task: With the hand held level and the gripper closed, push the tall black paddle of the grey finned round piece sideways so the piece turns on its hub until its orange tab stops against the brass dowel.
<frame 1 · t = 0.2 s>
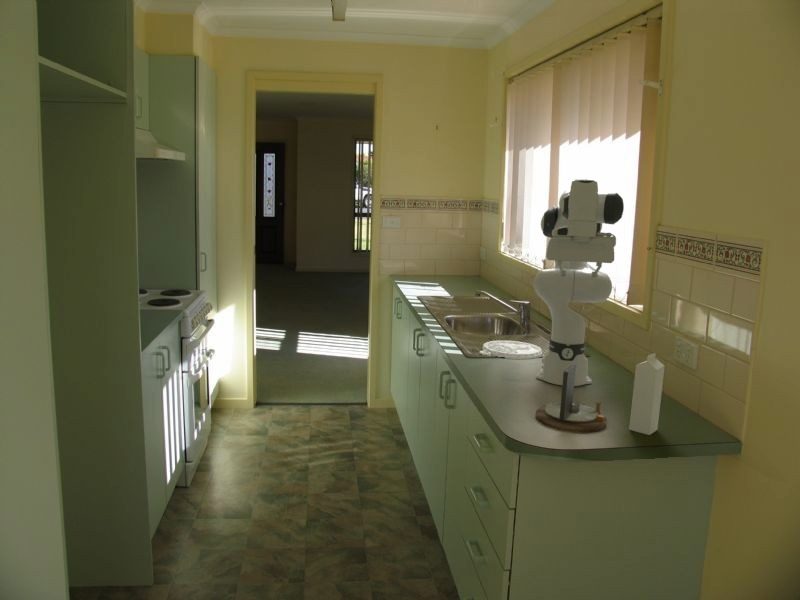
hand: (578, 276, 221), 40 cm above the countertop, tool pointing down, fingers open, 8 cm apart
grey finned round piece: (574, 391, 206), point 9 cm above the countertop, hinge at 0.0°
post base: (570, 420, 209), on the countertop
milk: (643, 430, 204), on the countertop
medallion: (508, 353, 288), on the countertop
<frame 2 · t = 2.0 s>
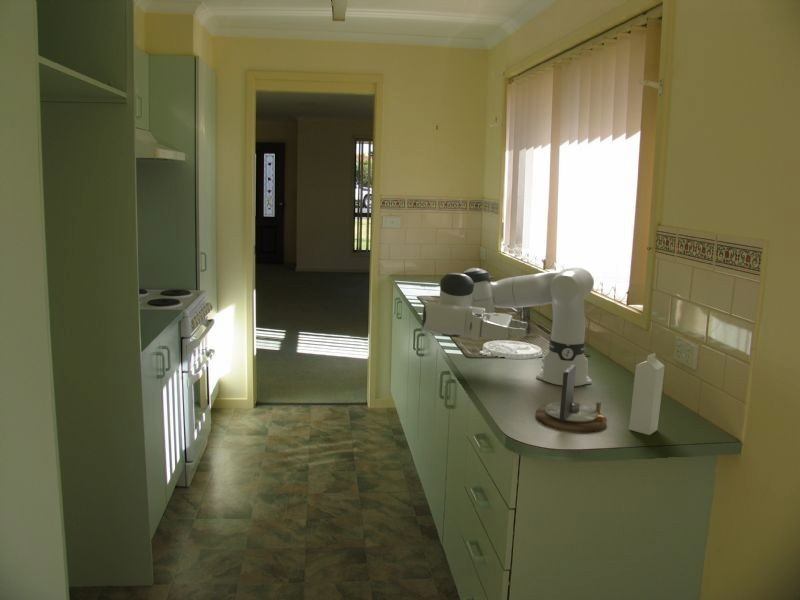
hand: (526, 329, 202), 27 cm above the countertop, tool horizontal, fingers open, 8 cm apart
nothing on the countertop moved.
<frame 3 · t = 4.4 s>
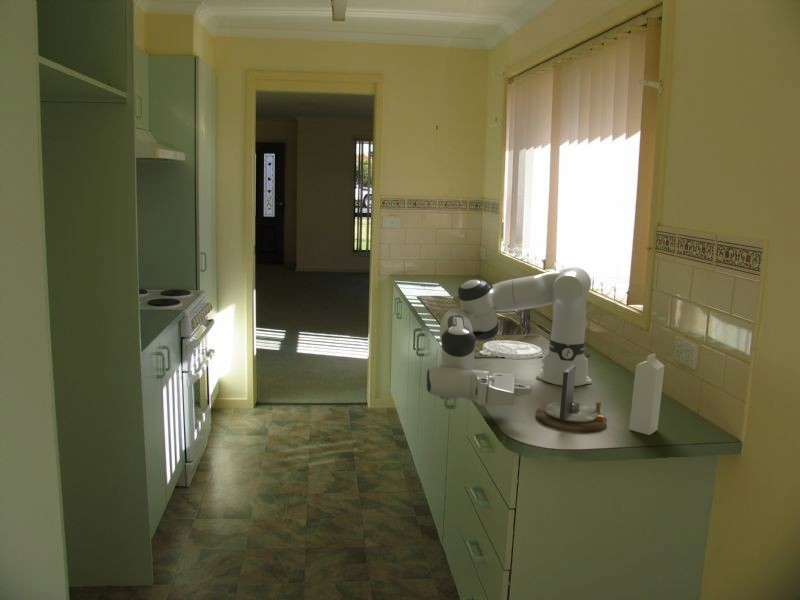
hand: (531, 390, 204), 10 cm above the countertop, tool horizontal, fingers closed
nothing on the countertop moved.
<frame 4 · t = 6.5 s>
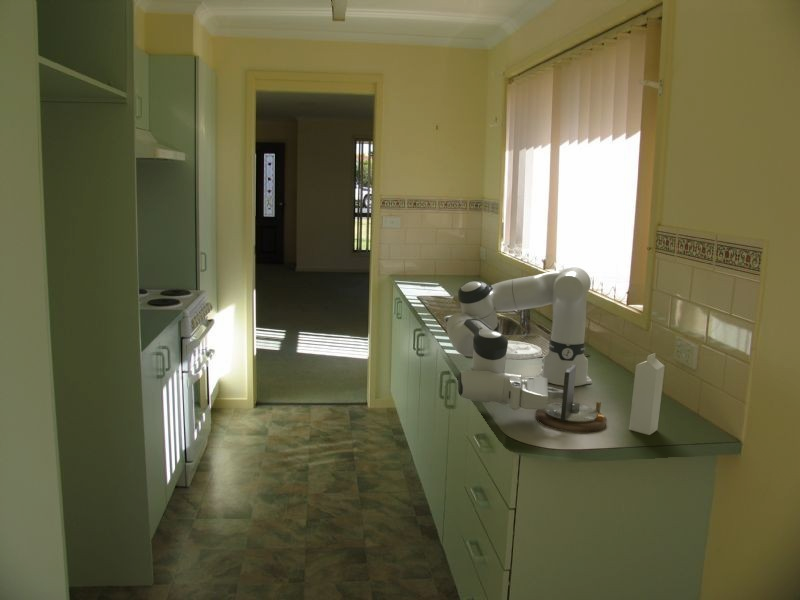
hand: (564, 394, 202), 9 cm above the countertop, tool horizontal, fingers closed
grey finned round piece: (575, 391, 206), point 9 cm above the countertop, hinge at 1.9°, touching gripper
everything else where it was.
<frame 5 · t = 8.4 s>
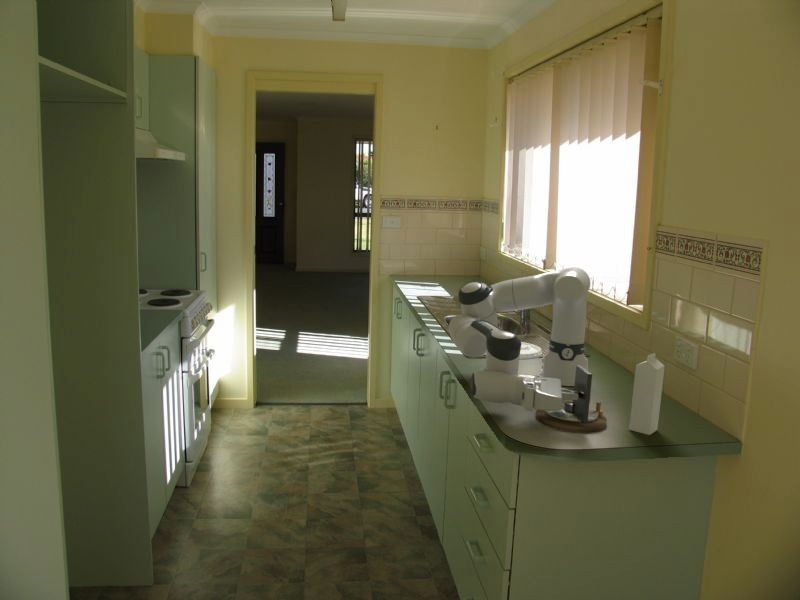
hand: (578, 395, 201), 9 cm above the countertop, tool horizontal, fingers closed
grey finned round piece: (578, 390, 206), point 9 cm above the countertop, hinge at 34.1°, touching gripper, post base
everything else where it was.
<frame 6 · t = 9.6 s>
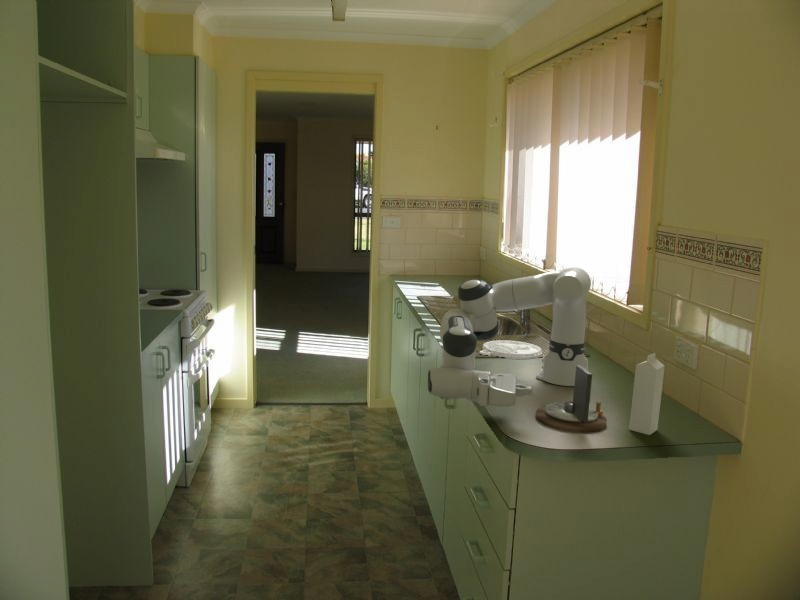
hand: (532, 391, 204), 9 cm above the countertop, tool horizontal, fingers closed
grey finned round piece: (578, 390, 206), point 9 cm above the countertop, hinge at 34.1°, touching post base
everything else where it was.
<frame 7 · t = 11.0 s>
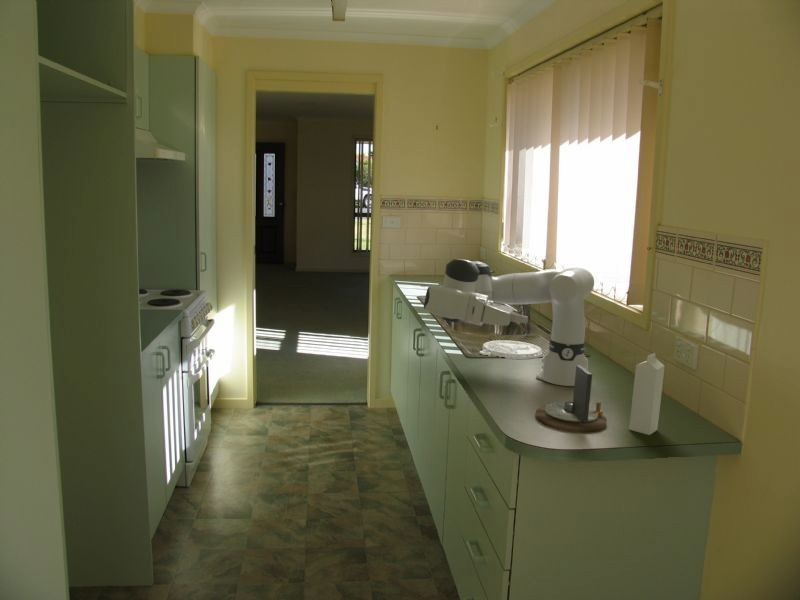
hand: (527, 320, 203), 29 cm above the countertop, tool horizontal, fingers closed
nothing on the countertop moved.
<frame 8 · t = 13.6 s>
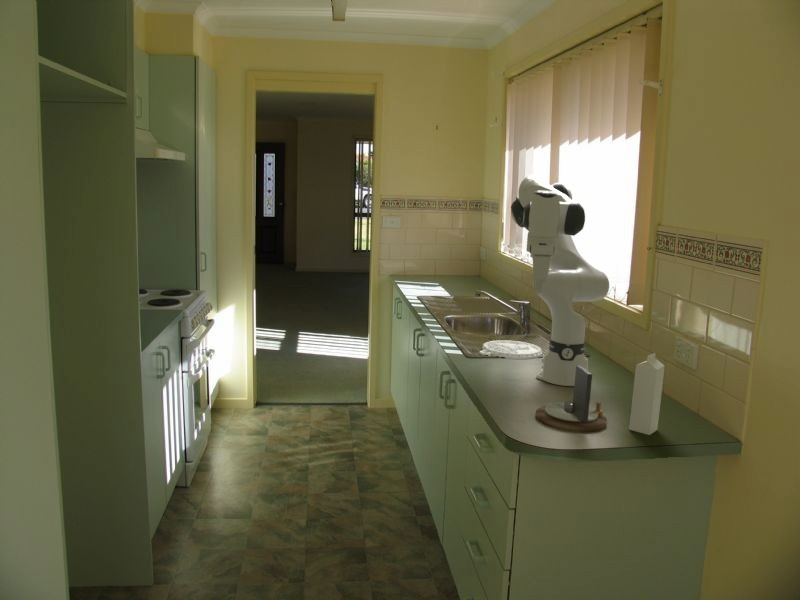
hand: (538, 292, 215), 35 cm above the countertop, tool pointing down, fingers closed
nothing on the countertop moved.
at the end: grey finned round piece at +34° (first picture: +0°); milk moved 0.2 cm from its start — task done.
